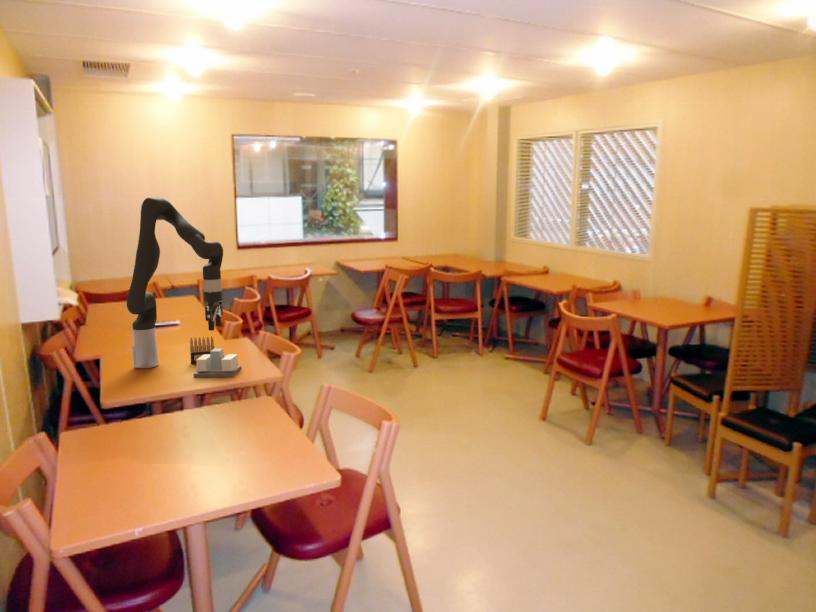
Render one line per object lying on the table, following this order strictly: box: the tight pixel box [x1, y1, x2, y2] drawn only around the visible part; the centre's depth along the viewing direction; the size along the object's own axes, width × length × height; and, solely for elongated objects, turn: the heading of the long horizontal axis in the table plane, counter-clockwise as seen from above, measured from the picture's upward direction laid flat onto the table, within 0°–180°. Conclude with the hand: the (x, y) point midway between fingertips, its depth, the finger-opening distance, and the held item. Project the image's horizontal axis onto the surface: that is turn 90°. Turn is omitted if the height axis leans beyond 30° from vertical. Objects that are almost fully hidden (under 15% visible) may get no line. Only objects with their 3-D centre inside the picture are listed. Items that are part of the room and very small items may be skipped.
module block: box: [210, 348, 225, 370], centre depth 255 cm, size 4×5×8 cm
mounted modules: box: [196, 353, 239, 372], centre depth 255 cm, size 14×9×5 cm, turn 88°
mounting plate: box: [193, 365, 242, 379], centre depth 256 cm, size 16×13×2 cm
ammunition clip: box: [189, 335, 216, 365], centre depth 273 cm, size 11×2×12 cm, turn 108°
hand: (215, 328), depth 253 cm, fingers open, 8 cm apart
